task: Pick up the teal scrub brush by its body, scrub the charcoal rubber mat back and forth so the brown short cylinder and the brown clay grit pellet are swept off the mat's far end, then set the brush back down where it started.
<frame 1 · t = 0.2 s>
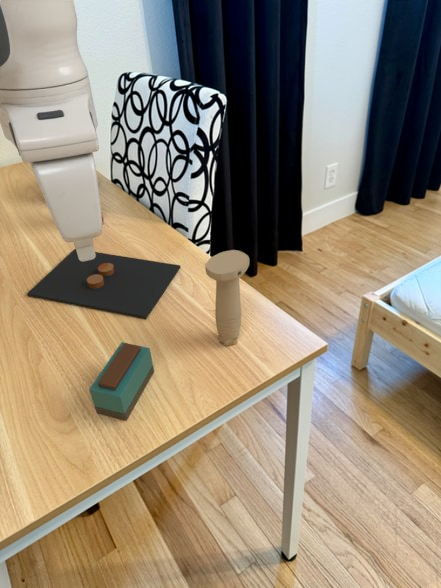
hand: (80, 237, 50), 23 cm above the table, tool pointing down, fingers open, 8 cm apart
bowl: (71, 194, 114), on the table
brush: (126, 391, 61), on the table
handle: (228, 340, 69), on the table
mat: (106, 281, 82), on the table
brown short cylinder: (96, 284, 80), point 1 cm above the table, touching mat
grit b: (106, 272, 83), point 1 cm above the table, touching mat
beverage can: (90, 225, 100), on the table
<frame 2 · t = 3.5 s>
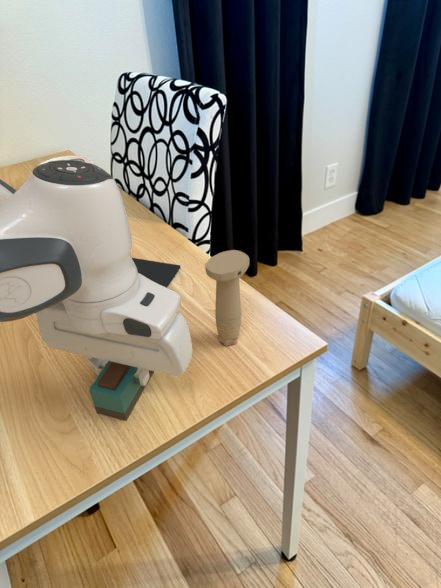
hand: (123, 377, 59), 3 cm above the table, tool pointing down, fingers closed on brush, 4 cm apart
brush: (126, 391, 61), on the table, touching gripper
everything else where it was.
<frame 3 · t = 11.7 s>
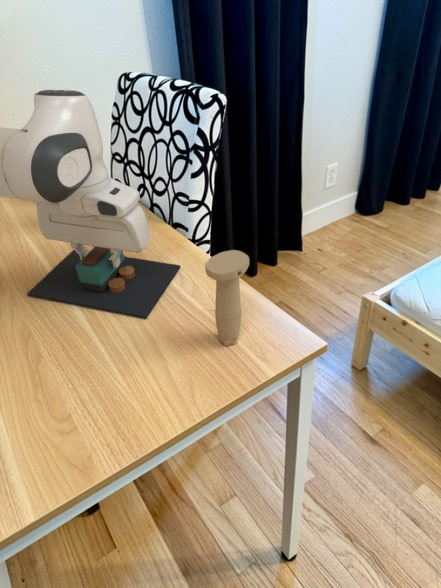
hand: (101, 263, 80), 4 cm above the table, tool pointing down, fingers closed on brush, 4 cm apart
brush: (104, 276, 82), point 1 cm above the table, touching gripper
brown short cylinder: (117, 287, 79), point 1 cm above the table, touching mat
grit b: (127, 275, 82), point 1 cm above the table
everything else where it was.
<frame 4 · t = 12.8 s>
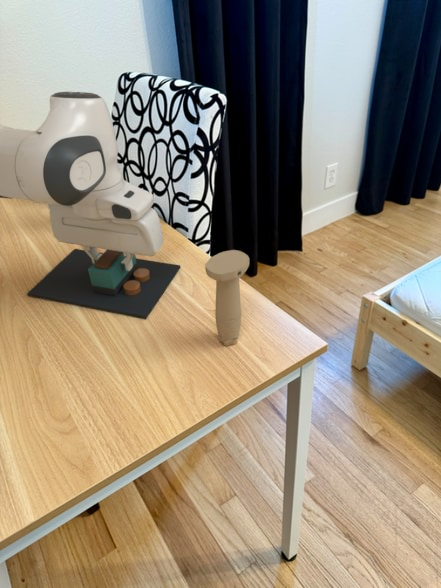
hand: (113, 266, 79), 4 cm above the table, tool pointing down, fingers closed on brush, 4 cm apart
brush: (116, 279, 81), point 1 cm above the table, touching gripper
brown short cylinder: (132, 290, 79), point 1 cm above the table, touching mat
grit b: (142, 277, 82), point 1 cm above the table, touching mat
everything else where it was.
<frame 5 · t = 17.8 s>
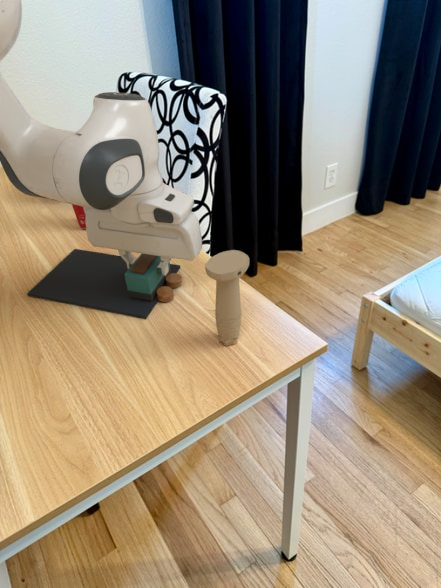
hand: (148, 270, 77), 4 cm above the table, tool pointing down, fingers closed on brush, 4 cm apart
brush: (150, 284, 79), point 1 cm above the table, touching gripper
brown short cylinder: (165, 296, 77), on the table, tilted 8°
grit b: (174, 282, 80), point 1 cm above the table, touching mat
everything else where it was.
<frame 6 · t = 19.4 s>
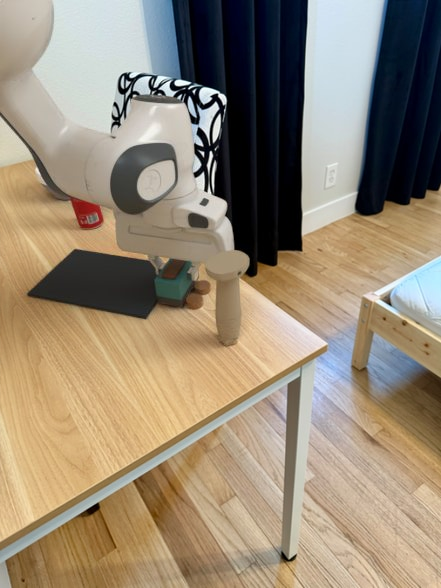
hand: (177, 276, 76), 4 cm above the table, tool pointing down, fingers closed on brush, 4 cm apart
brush: (179, 289, 78), point 1 cm above the table, touching gripper
brown short cylinder: (194, 304, 76), on the table
grit b: (202, 290, 79), on the table
everything else where it was.
when the fingers open (3 cm above the table, at t = 26.6 s): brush stays where it is, on the table.
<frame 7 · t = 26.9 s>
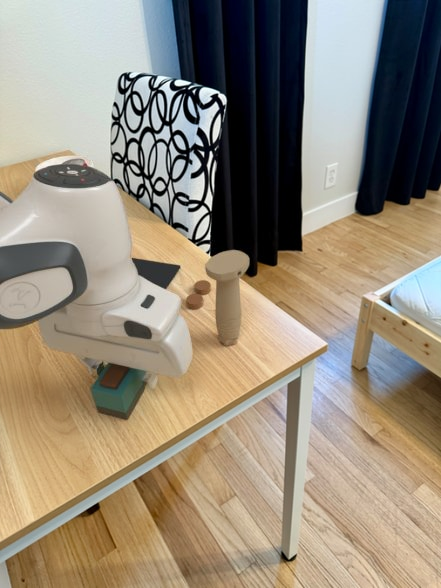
hand: (123, 378, 59), 3 cm above the table, tool pointing down, fingers open, 7 cm apart
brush: (127, 390, 61), on the table
brown short cylinder: (194, 304, 76), on the table
everything else where it was.
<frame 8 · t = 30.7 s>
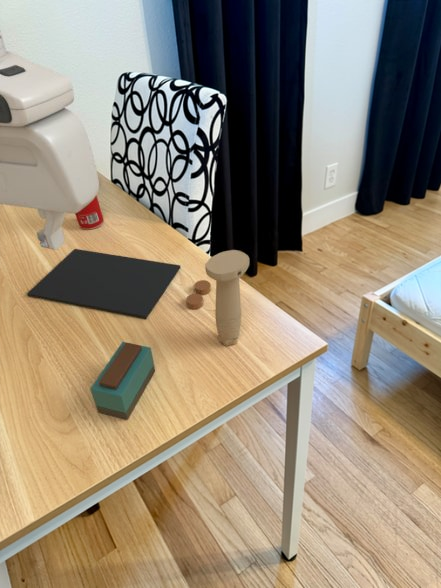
hand: (12, 239, 42), 27 cm above the table, tool pointing down, fingers open, 8 cm apart
nothing on the table moved.
at the end: brown short cylinder inside the target area on the table beside the mat (2.0 cm from its centre), on the table; grit b inside the target area on the table beside the mat (2.4 cm from its centre), on the table; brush inside the target area (0.1 cm from its centre), on the table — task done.
